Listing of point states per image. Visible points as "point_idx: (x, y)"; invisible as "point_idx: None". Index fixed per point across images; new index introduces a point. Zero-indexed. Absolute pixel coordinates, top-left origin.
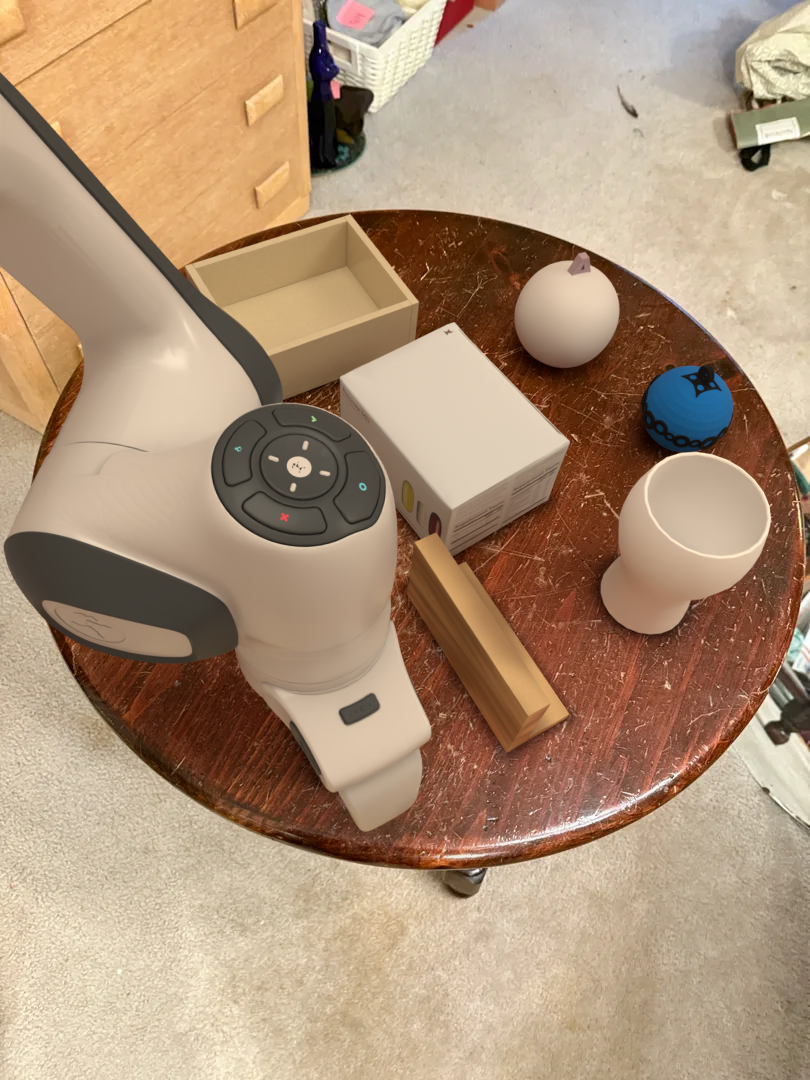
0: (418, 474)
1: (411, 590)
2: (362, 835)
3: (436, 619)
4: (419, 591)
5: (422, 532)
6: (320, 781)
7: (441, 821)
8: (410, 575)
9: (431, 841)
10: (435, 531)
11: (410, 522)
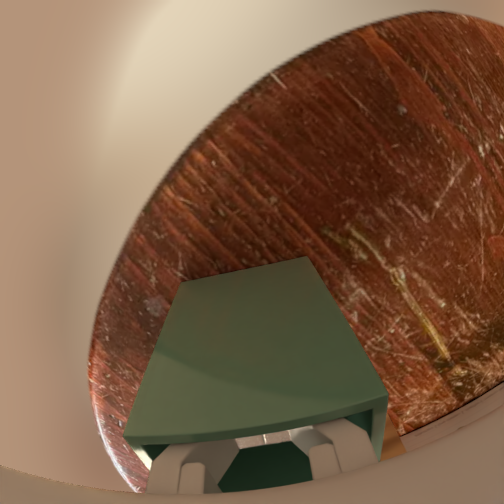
0: None
1: (388, 430)
2: (109, 312)
3: None
4: (381, 452)
5: (432, 435)
6: (185, 282)
7: (119, 389)
8: (402, 447)
9: (99, 374)
10: None
11: (446, 421)
